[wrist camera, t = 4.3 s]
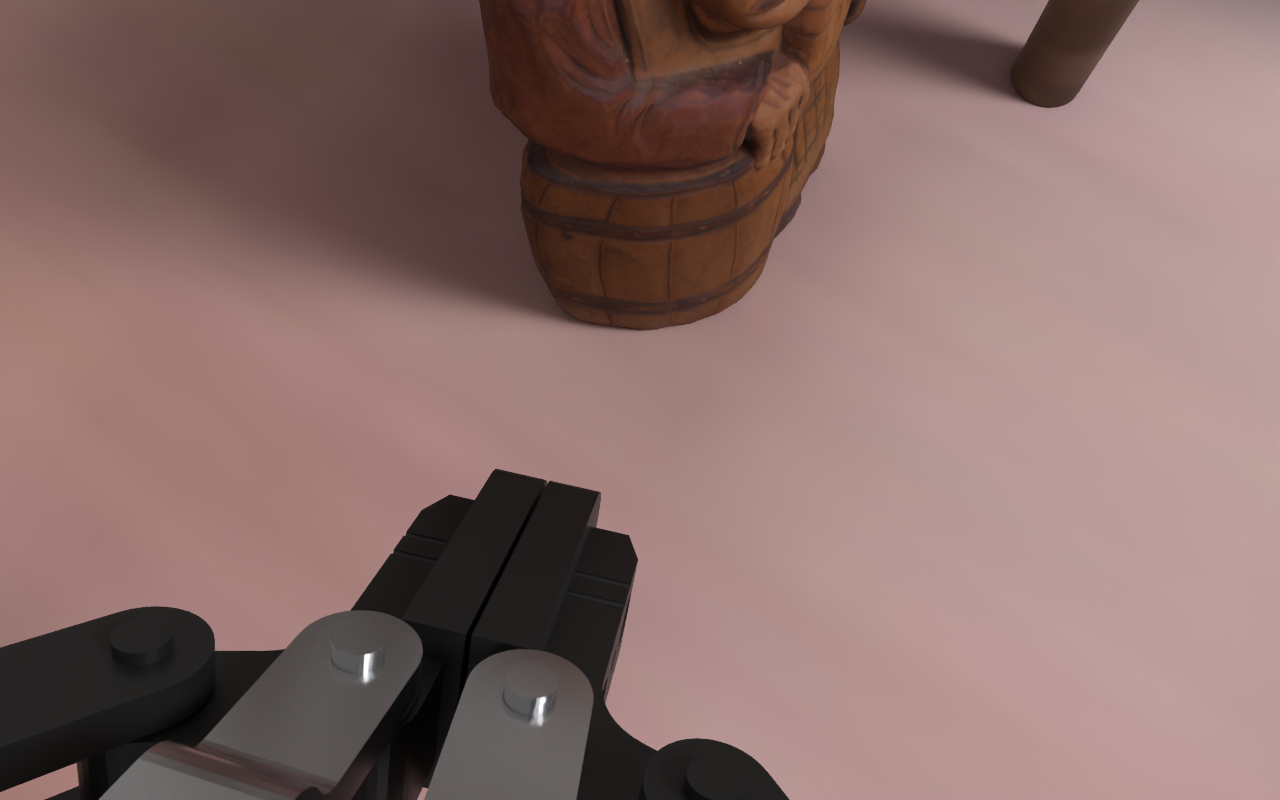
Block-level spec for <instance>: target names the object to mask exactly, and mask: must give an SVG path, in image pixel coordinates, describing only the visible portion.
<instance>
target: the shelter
mask: <svg viewBox="0 0 1280 800" xmlns="http://www.w3.org/2000/svg"><path fill="white" fill-rule="evenodd" d="M1138 1H1139V0H1049V1H1048V3H1047V5H1046V7H1045V9H1044V11H1043V12H1042V14H1041V16H1040V18H1039V20H1038V22H1037V23H1036V25H1035V27H1034V29H1033V31H1032V33H1031V34H1030V36H1029V38H1028V40H1027V42H1026V44H1025V46H1024V47H1023V49H1022V51H1021V53H1020V55H1019V57H1018V58H1017V60H1016V62H1015V64H1014V66H1013V68H1012V73H1011V78H1012V82H1013V85H1014V87H1015V89H1016V90H1017V92H1018V93H1019V94H1020V95H1021V96H1022V97H1023V98H1024V99H1026V100H1027V101H1029V102H1031V103H1033V104H1035V105H1038V106H1042V107H1059V106H1062V105H1065V104H1067V103H1069V102H1070V101H1072V100H1073V99H1074V98H1075V97H1076V95H1077V94H1078V92H1079V91H1080V89H1081V88H1082V86H1083V85H1084V83H1085V82H1086V80H1087V78H1088V77H1089V75H1090V74H1091V72H1092V71H1093V69H1094V68H1095V66H1096V65H1097V63H1098V62H1099V60H1100V59H1101V57H1102V56H1103V54H1104V53H1105V51H1106V50H1107V48H1108V47H1109V45H1110V44H1111V42H1112V41H1113V39H1114V38H1115V36H1116V34H1117V33H1118V31H1119V30H1120V28H1121V27H1122V25H1123V24H1124V22H1125V21H1126V19H1127V18H1128V16H1129V15H1130V13H1131V12H1132V10H1133V9H1134V7H1135V6H1136V4H1137V3H1138Z"/></svg>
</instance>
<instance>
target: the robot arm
mask: <svg viewBox="0 0 1280 800" xmlns="http://www.w3.org/2000/svg"><path fill="white" fill-rule="evenodd" d="M600 501H601V492H597V491H593V490H589V489H584V488H580V487H575V486H571V485H566V484H562V483H558V482H553V481H549V483H548V484H547V481H546V480H543V479H539V478H535V477H530V476H526V475H521V474H517V473H512V472H508V471H504V470H499V469H495V470H494V471H493V472H492V474H491V475H490V477H489V478H488V480H487V482H486V483H485V485H484V486H483V488H482V490H481V491H480V493H479V494H478V496H477V498H476V499H475V500H471V499H467V498H462V497H458V496H454V495H448V496H447V497H445V498H443V499H441V500H439V501H437V502H436V503H434V504H432V505H430V506H428V507H427V508H425V509H423V510H422V511H421V512H420V514H419V515H418V516H417V518H416V519H415V521H414V522H413V523H412V525H411V526H410V528H409V529H408V530H407V533H406V536H403V537H402V539H401V540H400V542H399V543H398V544H397V546H396V547H395V549H394V552H393V554H390V556H389V557H388V559H387V560H386V561H385V563H384V564H383V566H382V567H381V568H380V570H379V571H378V573H377V574H376V575H375V577H374V578H373V580H372V581H371V582H370V584H369V585H368V587H367V588H366V590H365V591H364V592H363V594H362V595H361V597H360V598H359V599H358V601H357V602H356V604H355V605H354V606H353V608H352V609H351V611H344V612H340V613H335V614H332V615H329V616H326V617H323V618H321V619H319V620H317V621H315V622H313V623H312V624H310V625H309V626H307V627H306V628H305V629H304V630H303V631H302V632H301V633H300V634H299V635H298V636H297V637H296V638H295V639H294V640H293V641H292V642H291V644H290V645H289V646H288V647H287V648H286V649H283V650H275V651H215V638H214V634H213V631H212V629H211V627H210V626H209V625H208V624H207V623H206V622H205V621H204V620H203V619H202V618H200V617H199V616H197V615H195V614H193V613H191V612H188V611H185V610H181V609H177V608H171V607H156V606H155V607H141V608H135V609H129V610H125V611H121V612H118V613H114V614H111V615H108V616H104V617H101V618H98V619H94V620H91V621H88V622H84V623H81V624H78V625H74V626H71V627H68V628H64V629H61V630H58V631H54V632H51V633H48V634H44V635H41V636H38V637H34V638H31V639H28V640H25V641H21V642H18V643H15V644H11V645H8V646H5V647H1V648H0V792H1V791H4V790H7V789H9V788H12V787H14V786H17V785H20V784H22V783H25V782H27V781H30V780H33V779H35V778H38V777H40V776H43V775H46V774H48V773H51V772H53V771H56V770H59V769H61V768H64V767H66V766H69V765H71V764H74V763H77V770H78V781H79V786H78V787H75V788H73V789H70V790H68V791H65V792H63V793H60V794H58V795H55V796H53V797H50V798H48V799H45V800H417V798H418V796H419V794H420V792H421V790H422V787H425V788H428V791H427V794H426V796H425V799H424V800H789V798H788V797H787V796H786V795H785V793H784V792H783V791H782V790H781V788H780V787H779V786H778V785H777V783H776V782H775V781H774V780H773V778H772V777H771V776H770V775H769V773H768V772H767V771H766V770H765V769H764V768H763V767H762V766H761V764H760V763H758V762H757V761H756V760H755V759H753V758H752V757H751V756H750V755H748V754H746V753H745V752H743V751H742V750H740V749H738V748H735V747H733V746H731V745H728V744H725V743H722V742H719V741H714V740H710V739H698V738H696V739H685V740H680V741H676V742H673V743H671V744H668V745H666V746H664V747H663V748H661V749H660V750H658V751H656V750H654V749H652V748H651V747H649V746H647V745H645V744H643V743H641V742H640V741H638V740H637V739H635V738H633V737H632V736H631V735H629V734H628V733H627V732H626V731H624V730H623V729H622V728H621V727H620V726H619V725H618V724H617V723H616V722H615V720H614V719H613V718H612V716H611V715H610V713H609V711H608V709H607V707H606V705H605V702H606V698H607V695H608V691H609V688H610V684H611V680H612V676H613V673H614V669H615V666H616V662H617V658H618V655H619V651H620V647H621V642H622V637H623V632H624V627H625V622H626V617H627V612H628V607H629V602H630V597H631V592H632V587H633V582H634V577H635V572H636V567H637V562H638V558H637V556H636V553H635V550H634V548H633V545H632V542H631V540H630V537H629V535H625V534H621V533H616V532H612V531H608V530H603V529H599V528H596V525H597V520H598V514H599V508H600Z"/></svg>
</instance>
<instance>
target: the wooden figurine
mask: <svg viewBox="0 0 1280 800" xmlns="http://www.w3.org/2000/svg"><path fill="white" fill-rule="evenodd" d="M479 2H480V8H481V16H482V22H483V28H484V34H485V39H486V45H487V52H488V59H489V70H490V91H491V95H492V98H493V101H494V104H495V106H496V107H497V108H498V109H499V110H500V111H501V112H502V113H503V115H504V116H505V117H507V118H508V119H509V120H510V121H511V122H512V123H513V125H514V126H515V127H517V128H518V129H519V130H520V131H521V132H522V134H523V135H524V136H526V137H527V138H529V139H528V142H527V144H526V146H525V148H524V150H523V157H522V173H521V178H520V185H521V195H522V204H521V210H522V215H523V219H524V223H525V227H526V231H527V235H528V238H529V243H530V245H531V249H532V253H533V256H534V259H535V262H536V265H537V268H538V270H539V271H540V273H541V275H542V276H543V278H544V280H545V282H546V284H547V286H548V288H549V290H550V291H551V293H552V295H553V297H554V298H555V300H556V301H557V303H558V304H559V305H560V306H561V307H562V308H563V309H564V310H565V311H566V312H567V313H569V314H570V315H572V316H574V317H576V318H578V319H580V320H582V321H586V322H591V323H596V324H601V325H612V326H620V327H629V328H634V329H640V330H649V329H659V328H662V327H666V326H673V325H683V324H689V323H693V322H695V321H698V320H701V319H704V318H706V317H709V316H712V315H715V314H717V313H719V312H721V311H723V310H724V309H726V308H728V307H729V306H731V305H733V304H734V303H736V302H737V301H738V300H740V299H741V298H742V297H743V296H744V295H745V294H746V293H747V292H748V291H749V290H750V289H751V288H752V286H753V285H754V284H755V282H756V281H757V279H758V278H759V276H760V275H761V273H762V271H763V268H764V266H765V263H766V261H767V258H768V255H769V251H770V248H771V245H772V242H773V239H774V238H775V237H776V236H777V235H778V234H779V233H780V232H781V231H782V230H783V229H784V228H785V227H786V226H787V224H788V223H789V222H790V221H791V220H792V219H793V217H794V216H795V214H796V211H797V209H798V207H799V205H800V203H801V191H802V190H803V188H804V186H805V184H806V182H807V180H808V178H809V176H810V175H811V174H812V173H813V172H814V171H815V170H816V169H817V167H818V166H819V163H820V161H821V158H822V156H823V154H824V150H825V142H826V139H827V137H828V135H829V132H830V129H831V126H832V120H833V116H834V99H835V93H836V88H837V84H838V78H839V62H840V50H839V36H840V33H841V30H842V28H843V26H845V25H847V24H849V23H851V22H852V21H853V20H855V19H856V18H857V17H858V16H859V14H860V13H861V11H862V10H863V8H864V6H865V3H866V0H479Z"/></svg>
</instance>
